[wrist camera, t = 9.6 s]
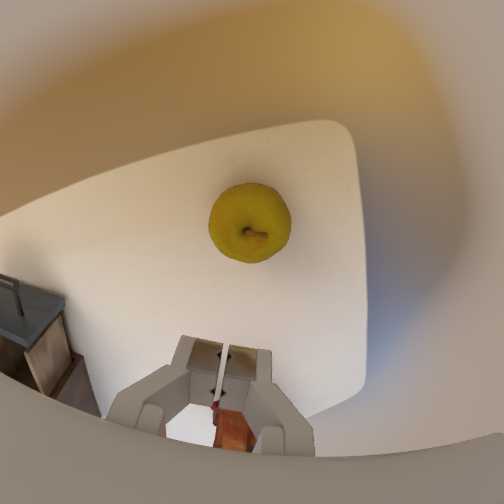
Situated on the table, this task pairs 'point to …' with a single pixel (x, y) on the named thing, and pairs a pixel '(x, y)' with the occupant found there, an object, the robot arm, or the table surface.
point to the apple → (250, 223)
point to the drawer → (32, 336)
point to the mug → (232, 430)
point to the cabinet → (77, 388)
